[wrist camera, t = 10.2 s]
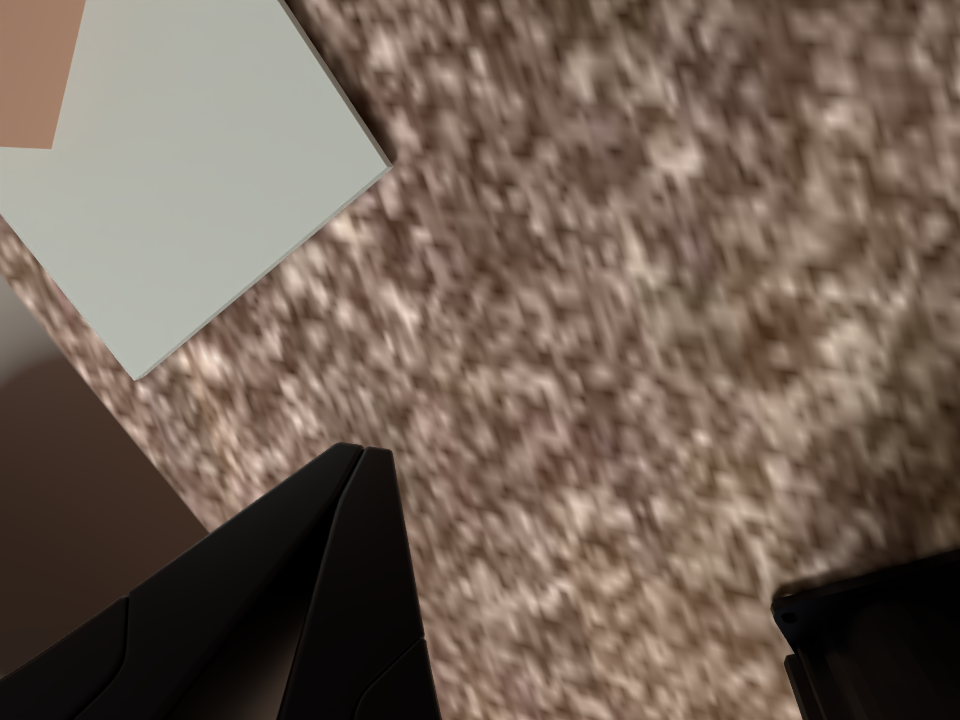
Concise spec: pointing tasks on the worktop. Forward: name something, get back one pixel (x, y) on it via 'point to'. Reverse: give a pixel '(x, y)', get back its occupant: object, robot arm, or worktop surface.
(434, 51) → the worktop surface
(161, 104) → the rubber mat
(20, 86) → the terracotta slab
